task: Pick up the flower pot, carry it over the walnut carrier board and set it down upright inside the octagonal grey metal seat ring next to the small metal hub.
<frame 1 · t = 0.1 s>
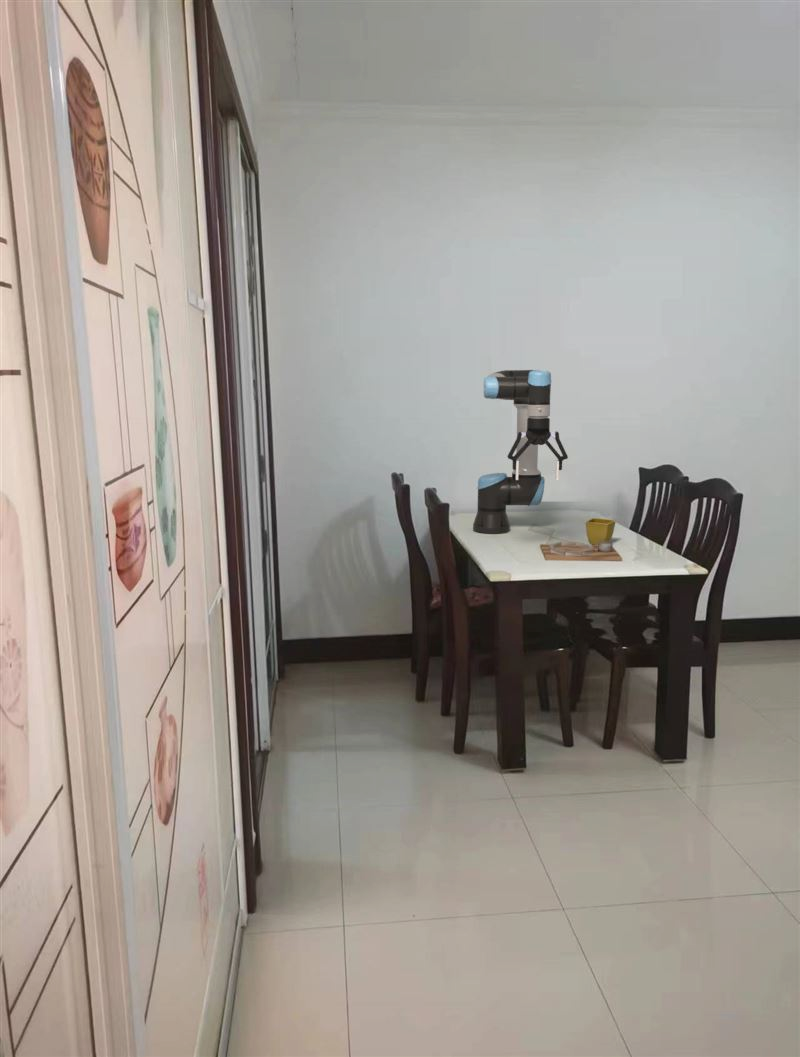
hand: (536, 479, 273), 28 cm above the table, fingers open, 13 cm apart
flower pot: (599, 544, 301), on the table
carrier board: (579, 553, 285), on the table
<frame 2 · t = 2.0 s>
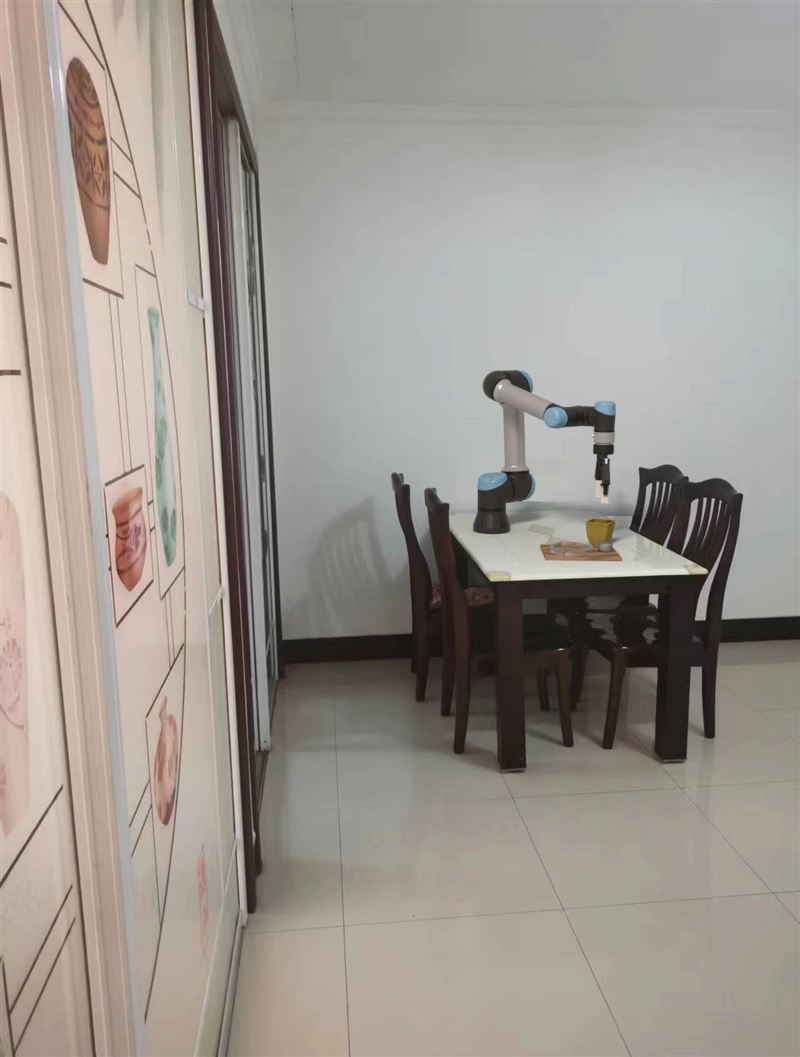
hand: (601, 500, 298), 17 cm above the table, fingers open, 13 cm apart
nothing on the table moved.
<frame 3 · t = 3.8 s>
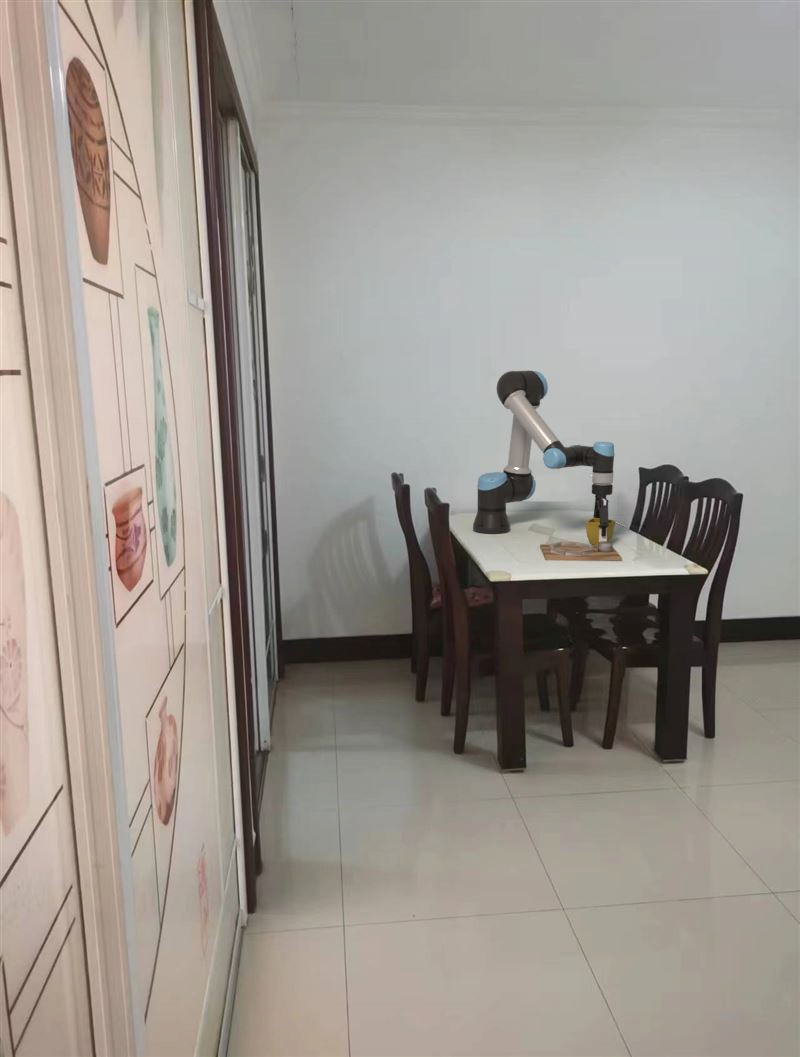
hand: (599, 540, 301), 1 cm above the table, fingers closed on flower pot, 11 cm apart
flower pot: (599, 544, 301), on the table, touching gripper
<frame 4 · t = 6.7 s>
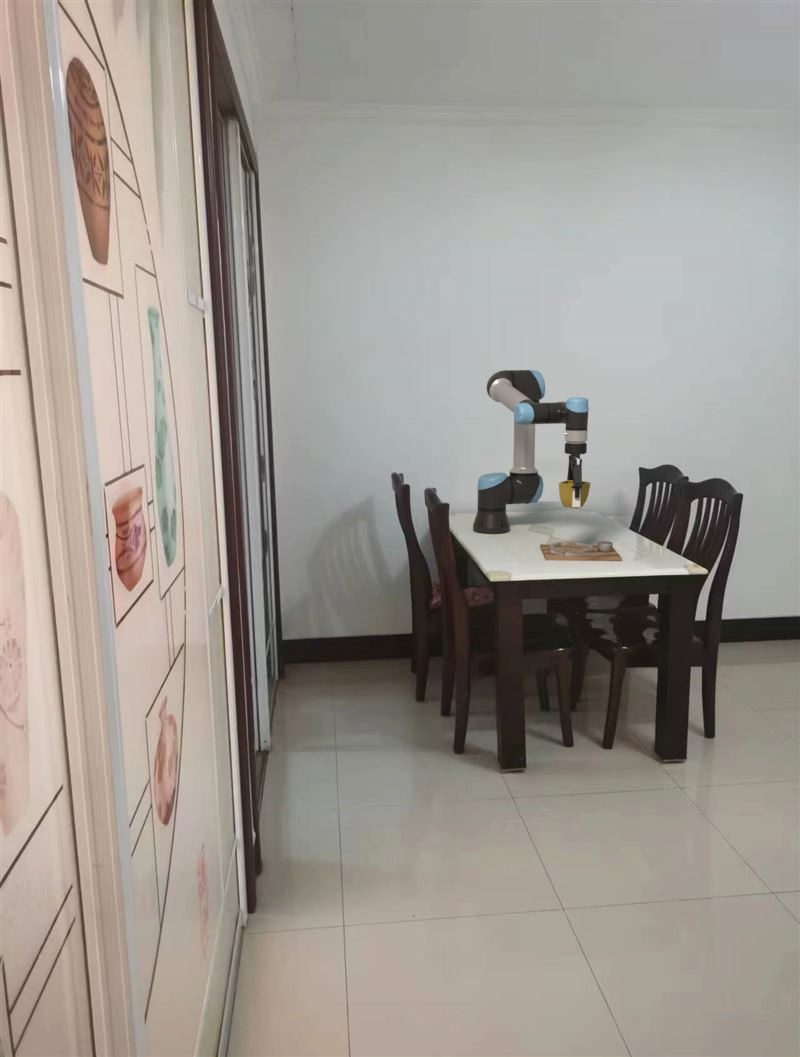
hand: (573, 504, 282), 18 cm above the table, fingers closed on flower pot, 11 cm apart
flower pot: (573, 507, 283), point 17 cm above the table, touching gripper
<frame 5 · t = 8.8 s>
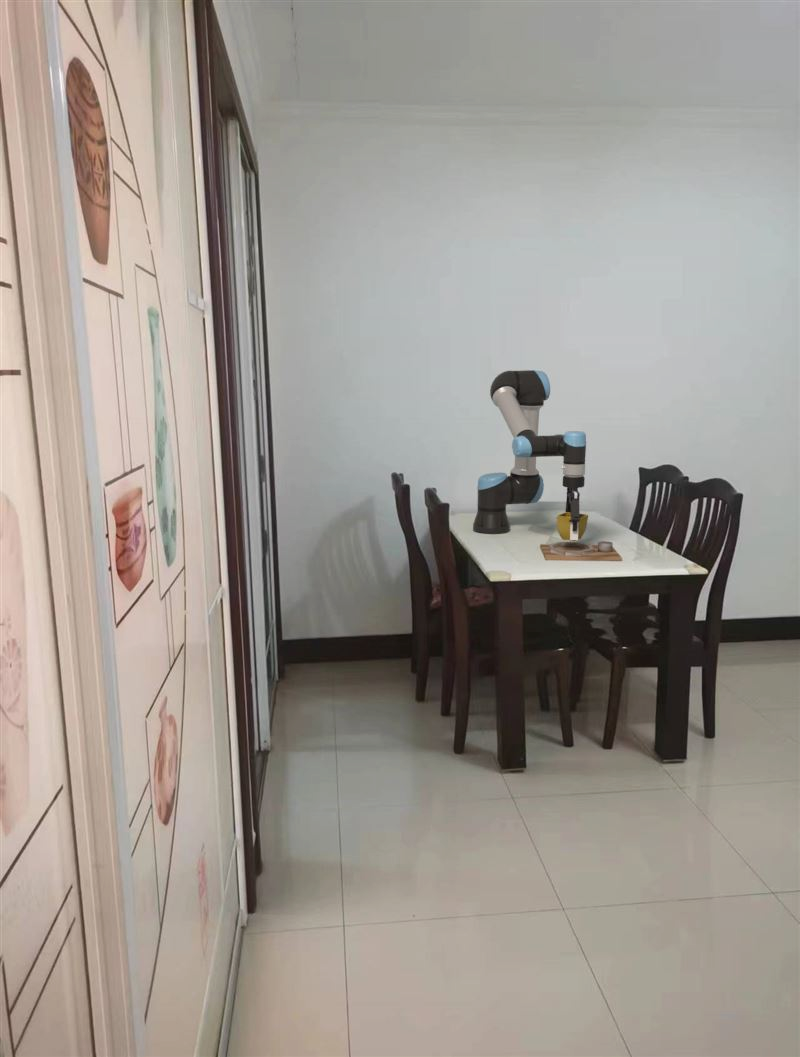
hand: (571, 536, 284), 6 cm above the table, fingers closed on flower pot, 11 cm apart
flower pot: (571, 540, 285), point 5 cm above the table, touching gripper
when the fingers open (4 cm above the table, at t = 9.9 s): flower pot drops 2 cm, resting on carrier board.
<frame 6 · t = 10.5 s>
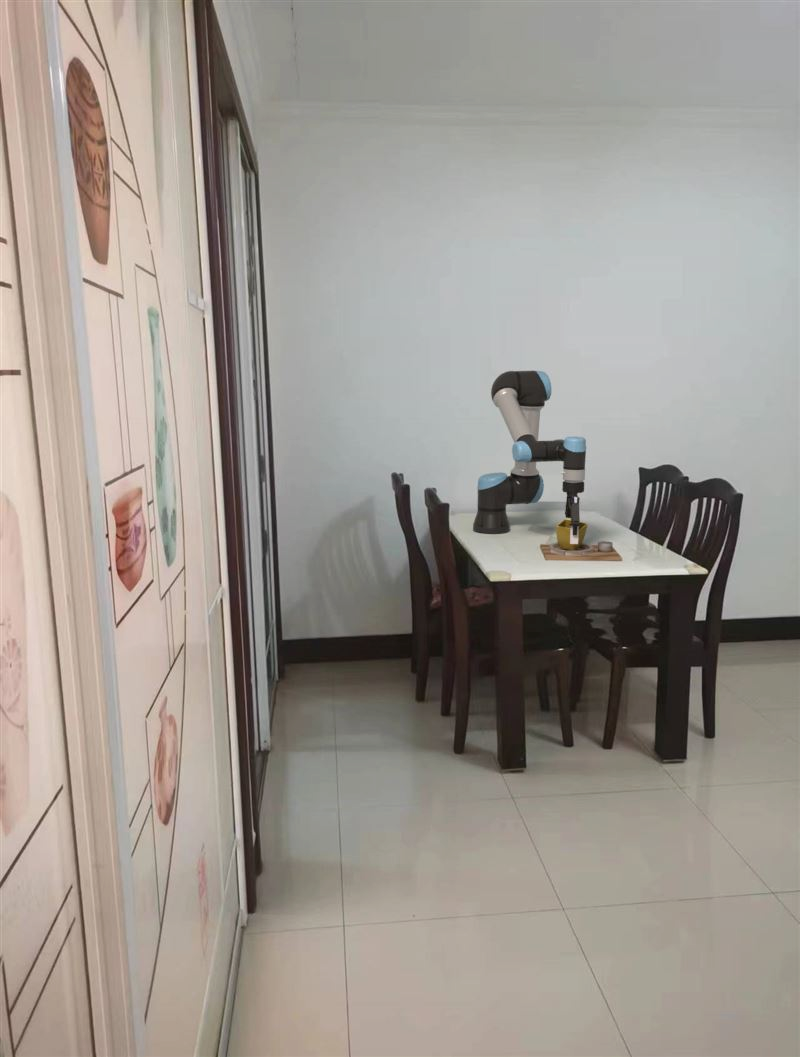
hand: (571, 539, 285), 5 cm above the table, fingers open, 13 cm apart
flower pot: (570, 548, 287), point 2 cm above the table, touching carrier board, gripper
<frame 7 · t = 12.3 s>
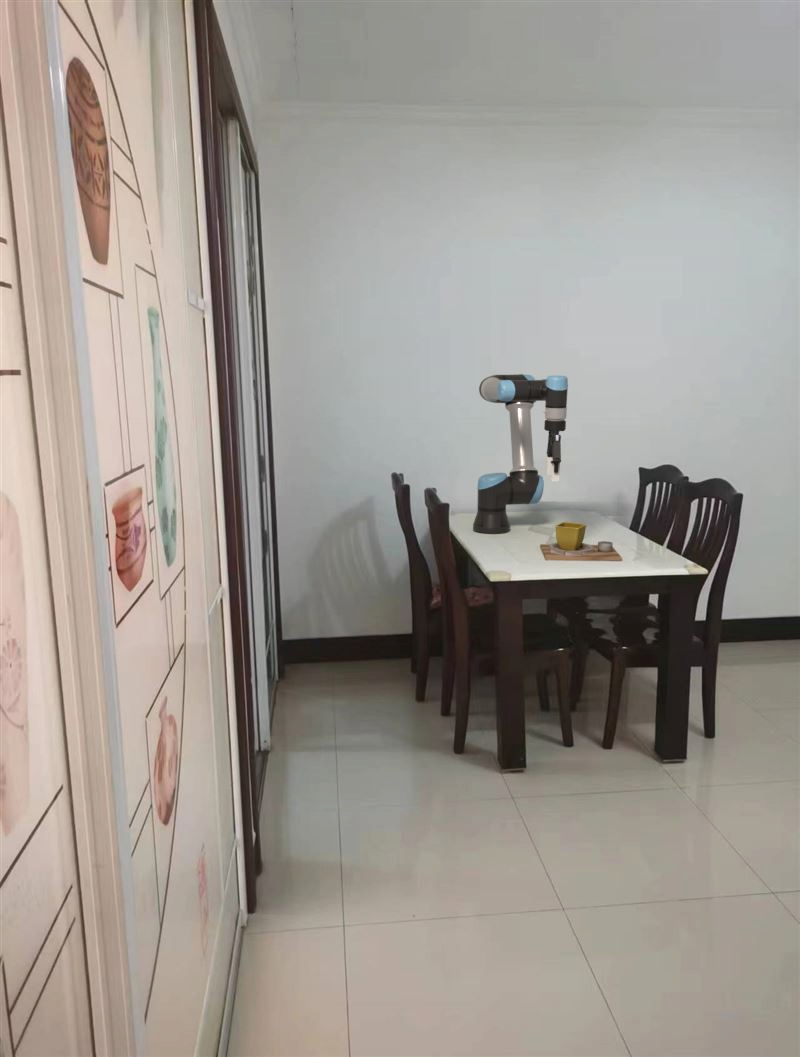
hand: (552, 478, 290), 26 cm above the table, fingers open, 13 cm apart
flower pot: (569, 549, 287), point 1 cm above the table, touching carrier board
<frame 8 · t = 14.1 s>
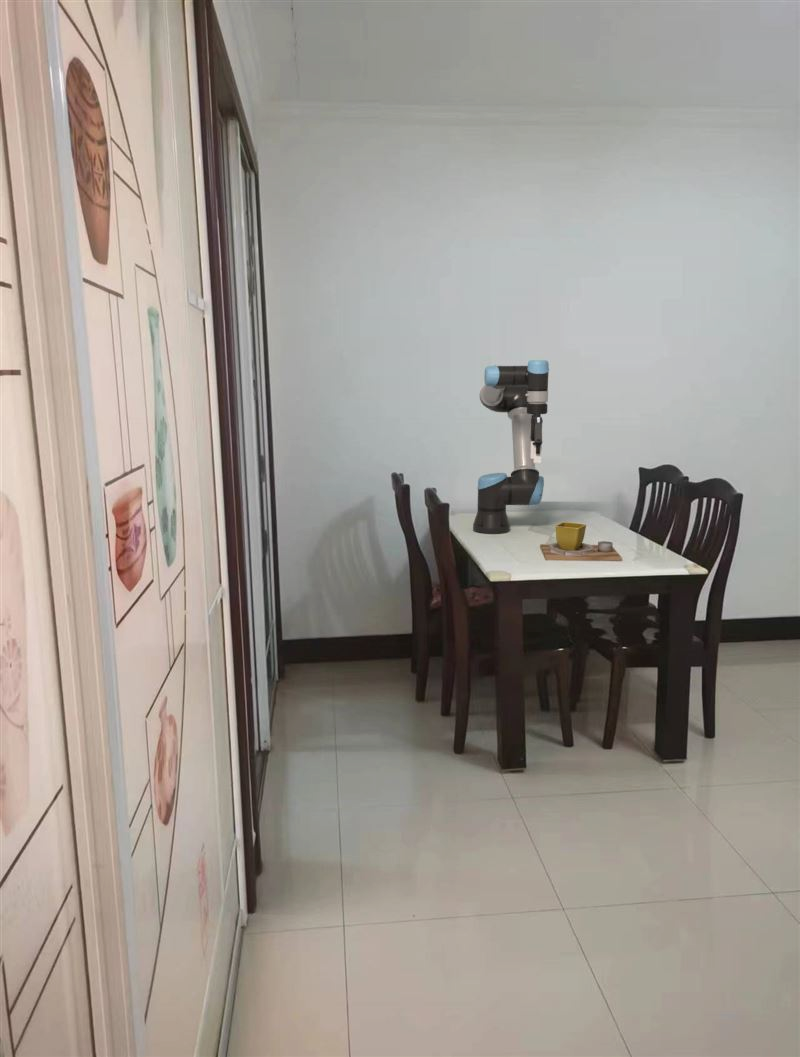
hand: (535, 460, 296), 32 cm above the table, fingers open, 13 cm apart
nothing on the table moved.
at the end: flower pot inside the target area (2.1 cm from its centre), point 1.0 cm above the table; flower pot tilted 0°; the gripper is holding nothing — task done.
